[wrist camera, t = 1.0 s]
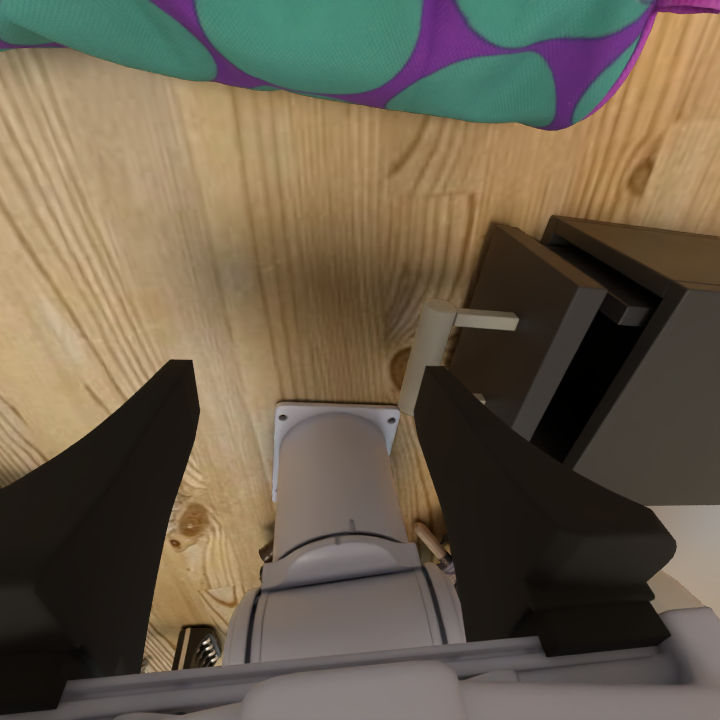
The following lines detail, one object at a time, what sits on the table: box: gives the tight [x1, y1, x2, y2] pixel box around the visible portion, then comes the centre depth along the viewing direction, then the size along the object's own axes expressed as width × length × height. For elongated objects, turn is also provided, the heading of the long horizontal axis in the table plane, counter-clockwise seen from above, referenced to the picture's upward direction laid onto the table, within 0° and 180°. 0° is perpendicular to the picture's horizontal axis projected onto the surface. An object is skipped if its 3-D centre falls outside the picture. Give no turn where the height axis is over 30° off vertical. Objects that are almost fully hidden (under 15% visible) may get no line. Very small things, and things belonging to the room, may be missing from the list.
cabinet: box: [541, 215, 720, 506], centre depth 21 cm, size 10×11×9 cm
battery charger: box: [171, 628, 222, 671], centre depth 37 cm, size 7×4×11 cm, turn 179°
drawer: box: [398, 225, 663, 463], centre depth 20 cm, size 14×10×7 cm
